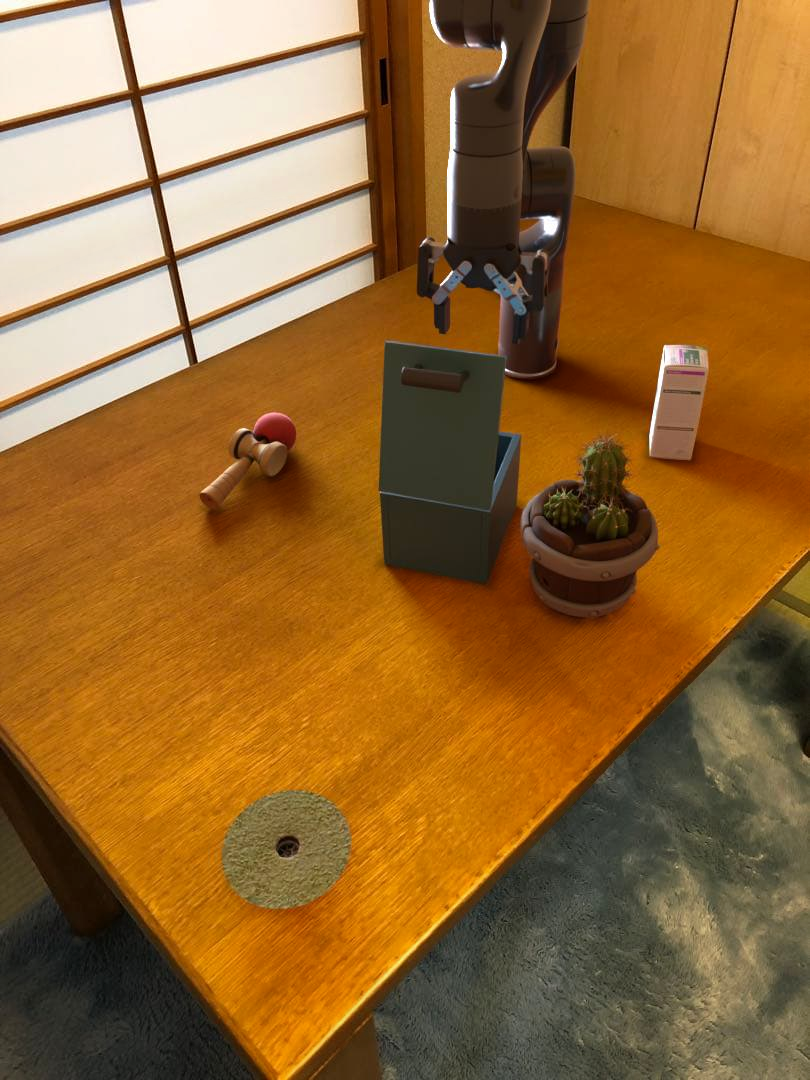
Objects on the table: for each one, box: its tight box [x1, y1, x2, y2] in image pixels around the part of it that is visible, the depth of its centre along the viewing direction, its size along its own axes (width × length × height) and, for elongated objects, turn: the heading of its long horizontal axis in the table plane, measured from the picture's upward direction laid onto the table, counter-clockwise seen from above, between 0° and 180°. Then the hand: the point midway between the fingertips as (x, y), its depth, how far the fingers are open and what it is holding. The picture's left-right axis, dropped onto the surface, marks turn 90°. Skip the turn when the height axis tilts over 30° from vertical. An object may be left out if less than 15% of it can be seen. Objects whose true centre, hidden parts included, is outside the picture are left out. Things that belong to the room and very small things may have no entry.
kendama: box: [199, 412, 297, 511], centre depth 119 cm, size 8×6×18 cm
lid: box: [378, 340, 507, 510], centre depth 91 cm, size 17×13×5 cm
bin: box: [379, 430, 522, 586], centre depth 106 cm, size 16×13×11 cm
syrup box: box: [649, 344, 710, 461], centre depth 118 cm, size 6×6×14 cm
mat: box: [220, 789, 352, 910], centre depth 77 cm, size 11×11×2 cm
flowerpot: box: [520, 429, 660, 620], centre depth 95 cm, size 14×15×20 cm
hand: (480, 335), depth 100 cm, fingers open, 8 cm apart
